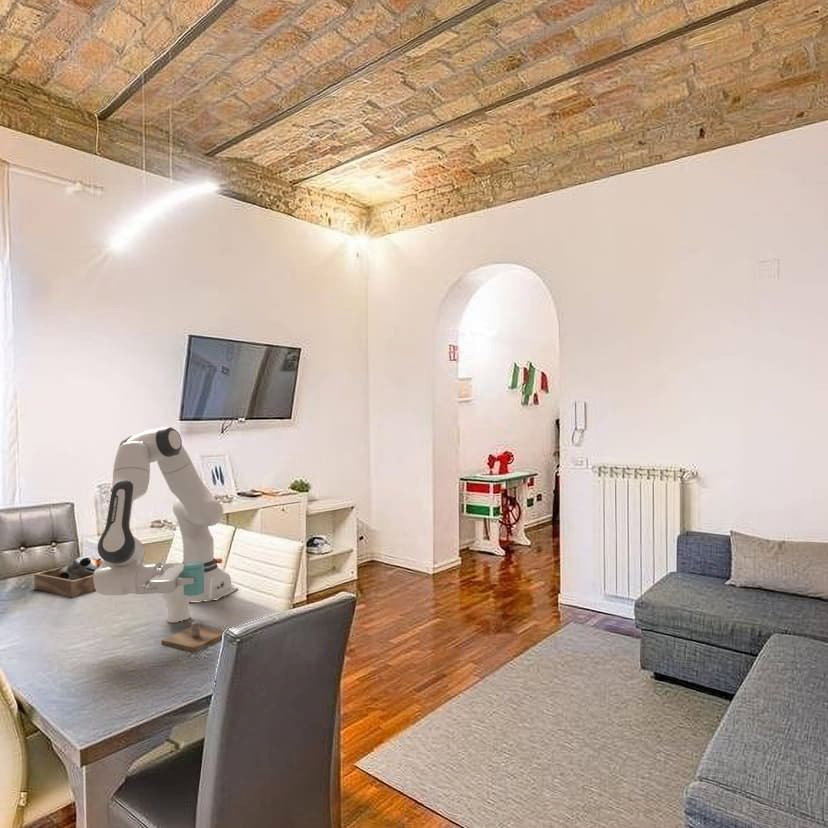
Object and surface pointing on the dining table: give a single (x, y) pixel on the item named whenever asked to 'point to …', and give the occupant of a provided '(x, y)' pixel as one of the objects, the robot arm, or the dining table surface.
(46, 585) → the tray
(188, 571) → the teal octagonal jar
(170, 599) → the cup
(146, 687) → the dining table surface
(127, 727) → the dining table surface
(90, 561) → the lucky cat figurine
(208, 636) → the square wooden board
